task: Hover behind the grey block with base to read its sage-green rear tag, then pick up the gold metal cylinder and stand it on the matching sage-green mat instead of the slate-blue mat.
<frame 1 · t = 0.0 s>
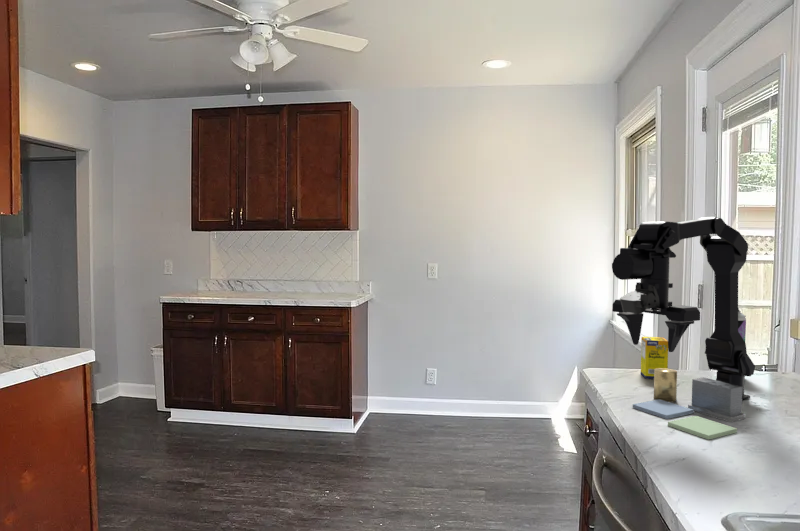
hand: (652, 348, 125), 15 cm above the countertop, tool pointing down, fingers open, 9 cm apart
supplement box: (653, 377, 158), on the countertop
gold metal cylinder: (664, 398, 137), on the countertop
slate mat: (662, 410, 128), on the countertop
spray can: (732, 377, 158), on the countertop
sage mat: (701, 428, 115), on the countertop
grey block with base: (715, 413, 125), on the countertop
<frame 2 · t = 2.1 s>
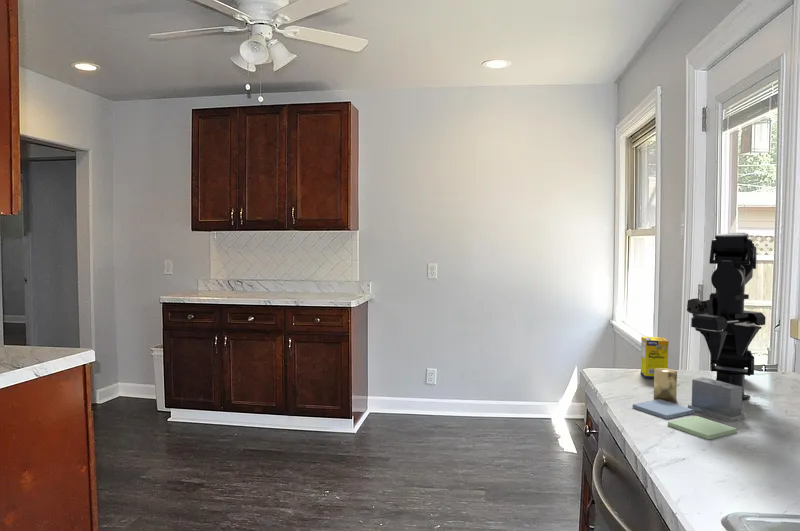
hand: (727, 357, 127), 12 cm above the countertop, tool pointing down, fingers open, 9 cm apart
nothing on the countertop moved.
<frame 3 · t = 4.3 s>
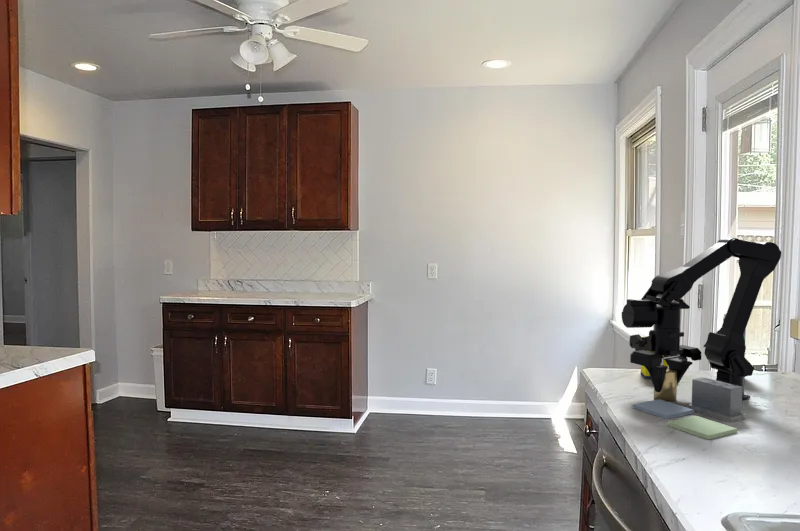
hand: (665, 390, 137), 2 cm above the countertop, tool pointing down, fingers closed on gold metal cylinder, 5 cm apart
gold metal cylinder: (664, 398, 137), on the countertop, touching gripper
everything else where it was.
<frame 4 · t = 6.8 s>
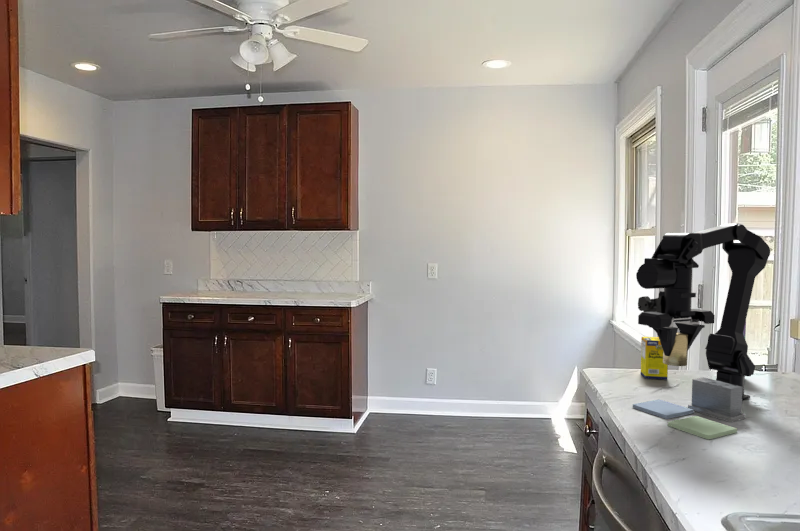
hand: (675, 355, 129), 12 cm above the countertop, tool pointing down, fingers closed on gold metal cylinder, 5 cm apart
gold metal cylinder: (674, 363, 130), point 10 cm above the countertop, touching gripper
everything else where it was.
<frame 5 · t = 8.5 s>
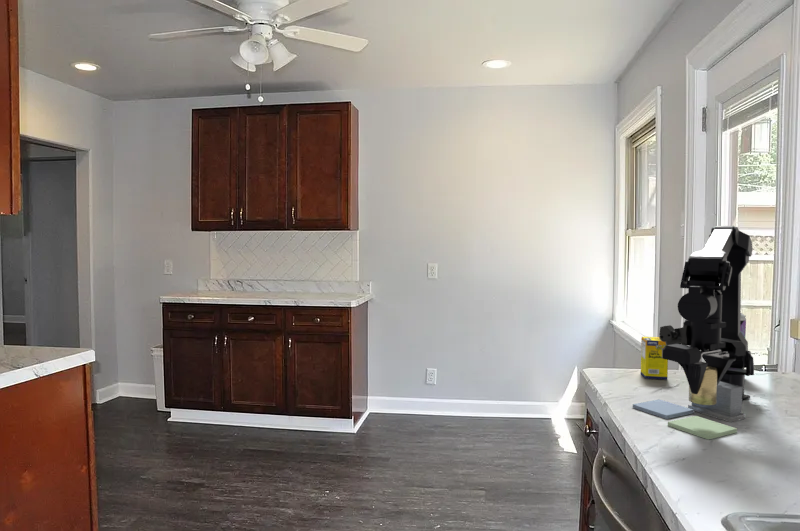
hand: (703, 391, 115), 8 cm above the countertop, tool pointing down, fingers closed on gold metal cylinder, 5 cm apart
gold metal cylinder: (702, 401, 115), point 6 cm above the countertop, touching gripper
everything else where it was.
when the fingers open (4 cm above the countertop, at t = 9.5 s): gold metal cylinder drops 2 cm, resting on sage mat.
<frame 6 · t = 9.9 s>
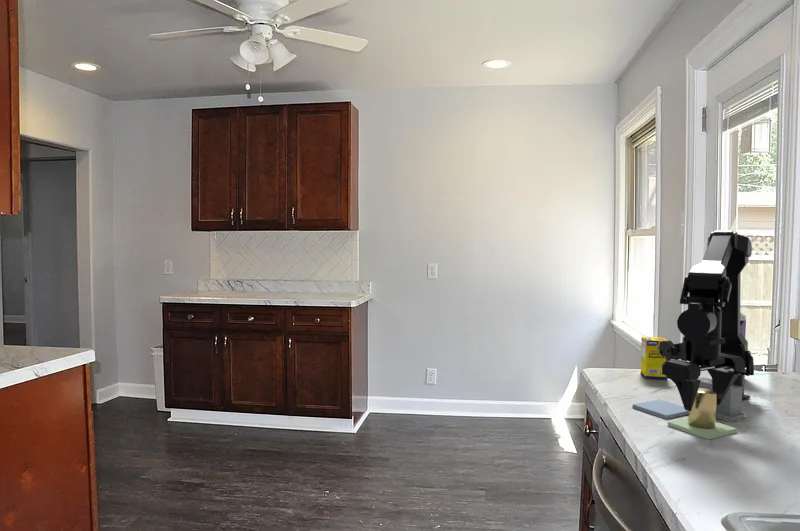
hand: (702, 407, 115), 4 cm above the countertop, tool pointing down, fingers open, 9 cm apart
gold metal cylinder: (701, 424, 115), point 1 cm above the countertop, touching sage mat
everything else where it was.
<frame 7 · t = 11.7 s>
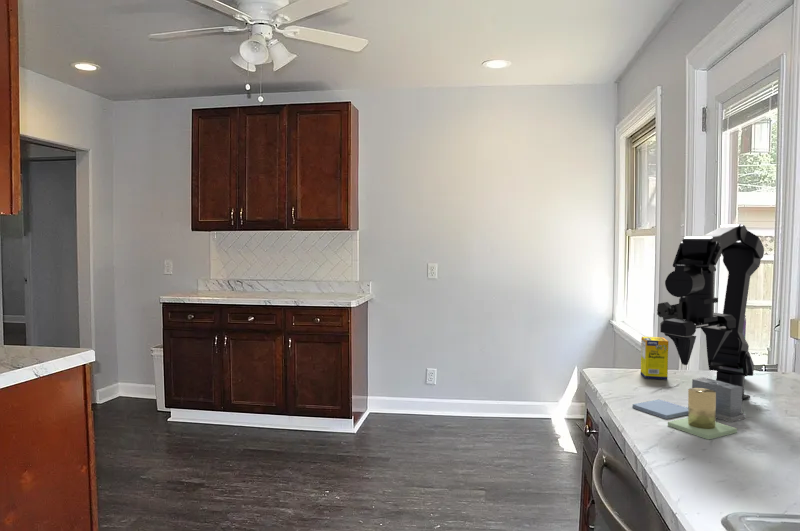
hand: (697, 361, 126), 11 cm above the countertop, tool pointing down, fingers open, 9 cm apart
nothing on the countertop moved.
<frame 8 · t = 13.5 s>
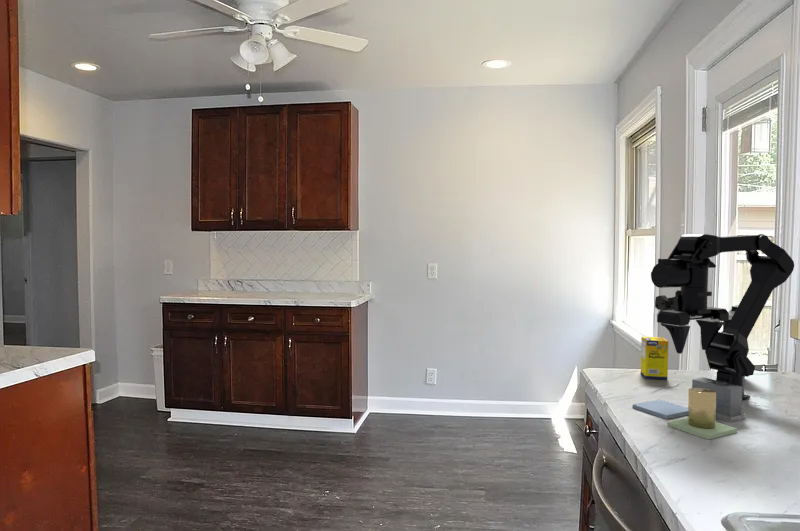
hand: (692, 351, 134), 12 cm above the countertop, tool pointing down, fingers open, 9 cm apart
nothing on the countertop moved.
at the end: gold metal cylinder 0.1 cm off-centre on the sage mat, point 0.9 cm above the sage mat's base; gold metal cylinder tilted 2°; the gripper is holding nothing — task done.
